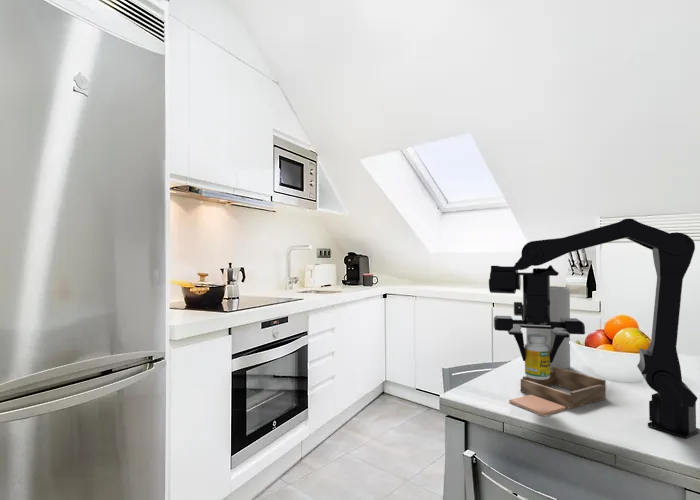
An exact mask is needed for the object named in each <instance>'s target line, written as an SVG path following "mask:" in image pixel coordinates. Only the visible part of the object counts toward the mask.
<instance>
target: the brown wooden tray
mask: <svg viewBox="0 0 700 500" xmlns="http://www.w3.org/2000/svg"><path fill="white" fill-rule="evenodd" d="M552 385H556V386H560V387H564V388H566V389H568V390H570V391H569V393H568V392H565V391H563V390H559V389H555V388H552V387H550V386H552ZM606 387H607V386H606V380H605V379H602V378H600V377H599V378H598V377H595V376H590V375H587V374H583V373H579V372H576V371H573V370H568V369H561V368H558V367H552V370H550V378H549V379H545V380H538V379H533V378H529V377H527V376H526V375H525V376H522V378H520V391H521V392H523V393H525V394H528V395H531V394H532V395H534V396H537V397H540V398H543V399H546V400H548V401H551V402H554V403H557V404H560V405H562V406H565V407H566V409H571V410H572V409H575V408H578V407H581V406H585V405H588V404H589V405H590V404H593V403H596V402H599V401H603V400H606V398H607V396H606V395H607V394H606V393H607V391H606V390H607V389H606ZM571 390H572V391H571Z"/></svg>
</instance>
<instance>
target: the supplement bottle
mask: <svg viewBox="0 0 700 500" xmlns="http://www.w3.org/2000/svg"><path fill="white" fill-rule="evenodd" d="M527 340H528V341H529V343H527V344H524V348H525V361H524V374H525V376H527V377H529V378H533V379H538V380H545V379H549V378H550V371H551V370H550V348H549V346H548V345H546V344H545V343H546V336H545V335H541V334H528V335H527Z"/></svg>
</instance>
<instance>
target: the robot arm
mask: <svg viewBox="0 0 700 500" xmlns="http://www.w3.org/2000/svg"><path fill="white" fill-rule="evenodd" d="M621 239H622V240H623V239H627V240H629V241H630V242H634V243H636V244H638V245H640V246H642V247H644V248H646V249H648V250H651V252H652V258H653V265H654V268H655V273H656V284H655V285H656V287H655V295H654V308H653V317H652V328H651V329H652V330H651V339H650V340H651V341H650V343H649V346H648V348H647V349H643V348H639V349H638V350H639V351H638V352H639V362H638V364H637V366H636V367H637V368H638V370H639V371H640V373H641V375H642V377H643V379H644V380H645V383H646V384H647V386H649V387H650V389H652V390H653V391H654V392H656V393H653V394H651V400H649V401H648V418H649V419H648V420H649V421H650V422H647V426H648V427H650V428H654V429H656V430H660V431H662V432H665V433H669V434H671V435H674V436H677V437H680V438H684V439H688V438H690V437H692V436H694V435H696V434H698V433H700V428H697V406H696V404H697V402H698V401H697V400H698V396H696V394H695V393H694V392H693V391H692V390H691V388H689V387H688V385H687V384H686V383H685V382H684V381H683V377H682V370H681V369H682V368H681V364H680V360H679V354H678V349H677V342H678V332H679V325H680V324H679V323H680V311H681V304H682V303H681V301H682V290H683V289H682V288H683V281H684V277H685V275H686V274H687V271H688V269H689V267H690V264H691V262H692V259H693V256H694V254H695V250H696V244H695V241H694V239H692V238H691V237H690V236H689V235H688V234H686V233H684V232H676V231H675V232H667V231H664V230H663V229H660V228H656V227H654V226H650V225H648V224H645V223H642V222H639V221H638V220H636V219H634V218H624V219H622V220H619V221H617V222H614V223H610V224H606V225H603V226H600V227H596V228H593V229H589V230H586V231H581V232H578V233H574V234H572V235H568V236H565V237H556V238H549V239H540V240H533V241H532V240H531V241H529V242H527V243H526V244H524V245H523V247H522V249H521V257H520V258H519V259H518V260H517V261H516V262H515V263H514V265H512V266H504V265H502V266H501V265H491V266H490V273H489V278H488V289H489V293H490V294H507V295H508V294H511V295H513V294H514V295H515V294H516V292H517V291H518V290H519V291H520V290H521V285H522V294H523V295H522V302H521V301H514V302H513V315H514V316H516V317H521V319H513V318H512V316H511V315H495V316H494V317H493V328H494V330H495V331H498V332H499V331H500V332H501V331H503V332H507V333H508V335H511V336H514V339H515V341H516V344H517V347H518V350H519V352H520V355H521V358H522V360H523V362H525V342H524V333H523V332H522V329H526V328H539V329H553V330H550V332H551V341H550V363H552V362H553V360H554V357H555V355H556V353H557V350H558V348H559V346H560V345H561V343H562V342H563V340H564V338H569V334H570V335H585V334H586V325H585V323H584V322H583V321H581V320H580V319H578V318H576V317H575V318H571V317H570V318H560V321H550V286H551V280H550V278H551V276H552V277H553V276H556V277H557V276H558V275H560V272H558V271H557V270H555V268H554V267H553V266H552V265H550V264H549V266H548V267H547V268H545V267H544V268H542V267H541V268H540V267H538V266H542V265H545V264H547V263H548V262H551V261H553V260H555V259H557V258H560V257H562V256H564V255H567V254H569V253H572V252H577V251H580V250H584V249H585V250H586V249H588V248H592V247H595V246H599V245H603V244H606V243H611V242H614V241H619V240H621ZM532 266H533V268H532V272H519V271H523V270H527V269H529V268H530V267H532ZM536 266H537V268H534V267H536ZM521 276H522V279H521ZM521 280H522V281H521ZM521 282H522V284H521ZM568 333H569V334H568Z"/></svg>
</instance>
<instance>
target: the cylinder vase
mask: <svg viewBox="0 0 700 500" xmlns="http://www.w3.org/2000/svg"><path fill="white" fill-rule="evenodd" d="M570 290H571V288H570V287H567V286H557V285H554V286H553V285H550V321H560V318H571V305H570V304H571V294H570V293H571V292H570ZM525 330H526V332H525V333H526V336H525V337H526V338H525V339H526V340H525V341H526V344H527V343H529V341H528V340H527V335H528V334H541V335H545V336H546V343H545V344H546V345H548V346H549V348H550V341H551V332H550V330H553V329H539V328H525ZM568 334H569V333H568ZM569 341H570V342H571V334H569V338H564V340H563V342H562V343H561V345H560V346H559V348H558V350H557V353H556V355H555V357H554V360H553V362H552V363H550V371H552V367H558V368H561V369H565V370H568V369H570V367H571V343H570V344H569ZM526 344H525V345H526Z"/></svg>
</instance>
